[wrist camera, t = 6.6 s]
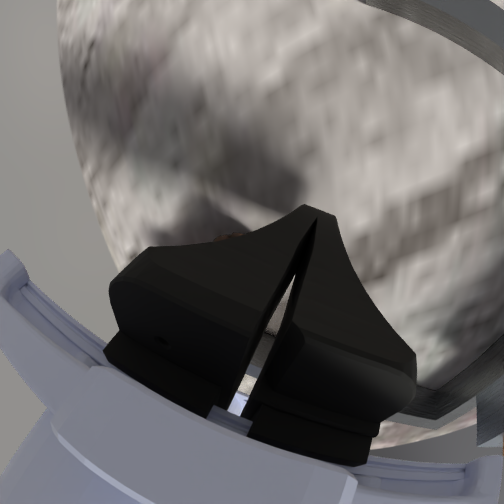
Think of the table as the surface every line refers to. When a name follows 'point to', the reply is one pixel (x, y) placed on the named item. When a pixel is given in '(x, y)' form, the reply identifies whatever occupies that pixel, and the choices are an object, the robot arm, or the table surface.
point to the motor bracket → (500, 353)
